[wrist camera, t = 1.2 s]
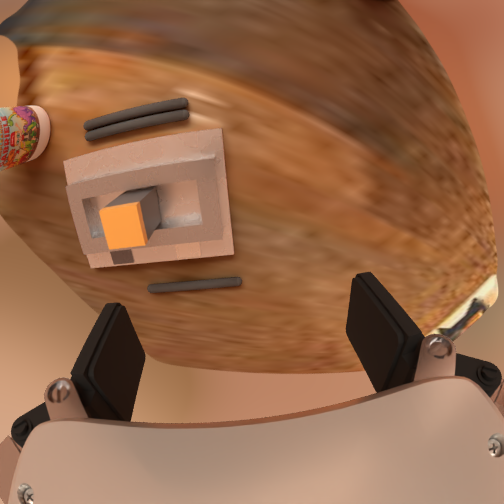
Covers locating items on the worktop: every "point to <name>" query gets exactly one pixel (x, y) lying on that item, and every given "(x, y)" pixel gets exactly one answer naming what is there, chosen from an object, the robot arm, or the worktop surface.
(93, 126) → the cord
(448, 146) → the worktop surface
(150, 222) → the block
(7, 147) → the milk bottle
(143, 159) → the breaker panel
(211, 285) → the cord
